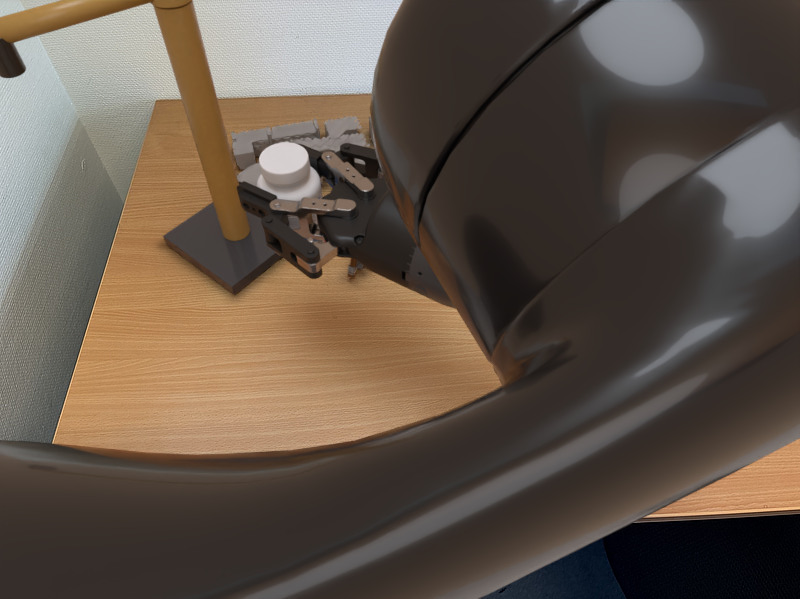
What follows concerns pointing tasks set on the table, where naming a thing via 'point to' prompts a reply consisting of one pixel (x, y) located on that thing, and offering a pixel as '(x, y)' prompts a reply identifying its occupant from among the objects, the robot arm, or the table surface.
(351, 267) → the brown grey jointed piece
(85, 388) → the table surface
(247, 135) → the architectural model
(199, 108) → the stand pole
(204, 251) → the pole stand
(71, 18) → the spout
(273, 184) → the pill bottle
